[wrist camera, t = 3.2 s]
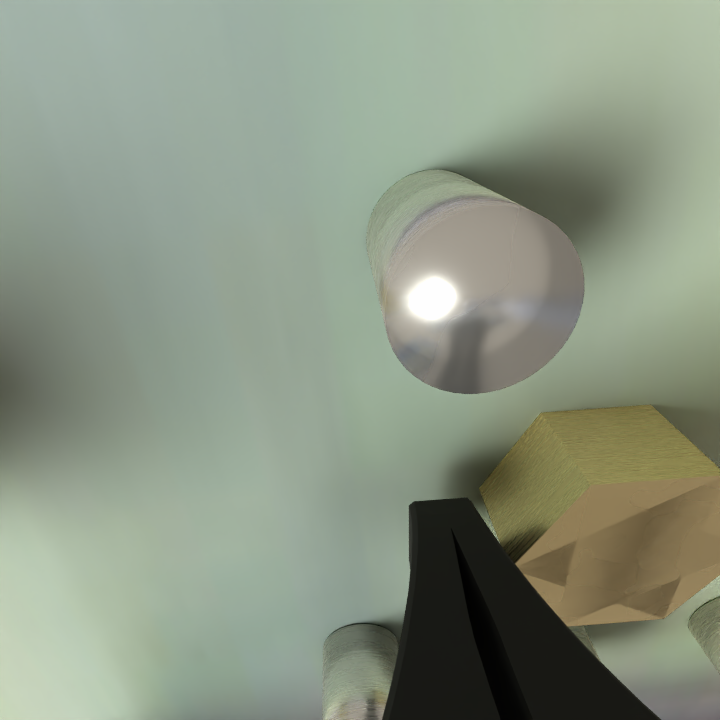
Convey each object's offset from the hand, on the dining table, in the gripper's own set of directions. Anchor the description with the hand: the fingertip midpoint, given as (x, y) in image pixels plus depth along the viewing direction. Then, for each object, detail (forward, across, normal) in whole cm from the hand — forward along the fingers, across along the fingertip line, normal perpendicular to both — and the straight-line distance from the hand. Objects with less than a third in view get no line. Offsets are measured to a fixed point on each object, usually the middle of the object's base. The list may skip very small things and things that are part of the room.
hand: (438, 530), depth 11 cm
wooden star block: (+1, -4, 0) cm, 4 cm away
